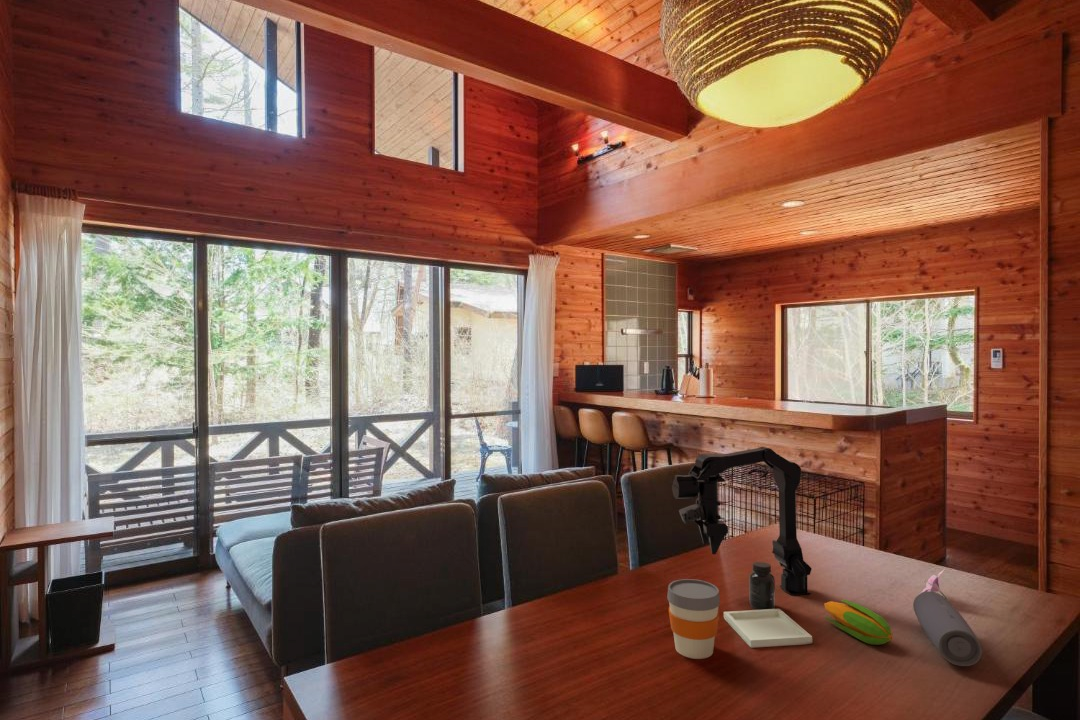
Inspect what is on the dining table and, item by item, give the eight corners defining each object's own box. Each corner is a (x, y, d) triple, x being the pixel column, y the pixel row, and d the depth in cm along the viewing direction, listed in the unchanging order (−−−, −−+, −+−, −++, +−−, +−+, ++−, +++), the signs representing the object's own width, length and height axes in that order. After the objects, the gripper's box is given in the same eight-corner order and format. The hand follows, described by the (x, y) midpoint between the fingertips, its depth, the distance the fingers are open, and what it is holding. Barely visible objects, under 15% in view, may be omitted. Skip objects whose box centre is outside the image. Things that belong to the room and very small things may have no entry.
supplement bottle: (778, 611, 162) (778, 568, 161) (754, 611, 162) (753, 569, 162) (769, 601, 168) (769, 560, 168) (746, 601, 169) (745, 560, 168)
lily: (937, 595, 174) (918, 564, 176) (974, 593, 163) (954, 561, 166) (915, 615, 168) (895, 584, 171) (952, 615, 158) (931, 582, 160)
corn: (878, 622, 138) (813, 590, 157) (876, 654, 138) (812, 618, 157) (901, 619, 140) (834, 588, 159) (899, 650, 140) (833, 616, 159)
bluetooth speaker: (985, 675, 128) (985, 631, 128) (936, 668, 131) (936, 624, 131) (952, 629, 150) (952, 591, 149) (910, 624, 153) (910, 586, 153)
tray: (779, 615, 159) (779, 608, 159) (812, 643, 143) (812, 636, 143) (723, 618, 158) (723, 611, 158) (750, 647, 142) (750, 640, 142)
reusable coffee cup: (692, 668, 133) (691, 603, 133) (657, 644, 144) (656, 584, 144) (732, 654, 139) (731, 592, 139) (695, 632, 150) (694, 575, 150)
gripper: (674, 490, 181) (675, 539, 182) (688, 505, 163) (690, 560, 163) (709, 489, 181) (710, 538, 181) (728, 504, 163) (729, 559, 163)
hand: (709, 548), depth 172 cm, fingers open, 9 cm apart
